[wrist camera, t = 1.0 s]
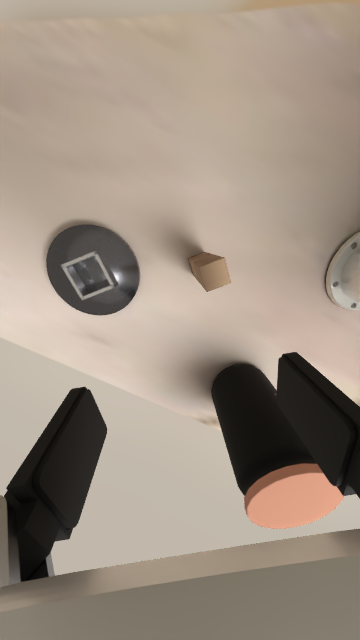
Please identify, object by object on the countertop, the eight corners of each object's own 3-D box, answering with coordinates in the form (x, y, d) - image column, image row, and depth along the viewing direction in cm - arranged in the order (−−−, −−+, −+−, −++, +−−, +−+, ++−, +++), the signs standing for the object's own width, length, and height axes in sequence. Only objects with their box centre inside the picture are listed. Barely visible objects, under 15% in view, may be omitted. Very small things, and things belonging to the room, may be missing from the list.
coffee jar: (259, 403, 39) (328, 524, 22) (208, 406, 38) (240, 533, 22) (269, 360, 35) (362, 468, 18) (211, 362, 34) (254, 477, 17)
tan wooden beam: (204, 252, 27) (224, 257, 18) (209, 269, 28) (231, 282, 18) (187, 258, 27) (199, 267, 18) (193, 275, 28) (207, 292, 19)
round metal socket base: (115, 210, 24) (108, 206, 21) (153, 296, 29) (151, 302, 26) (32, 245, 25) (14, 246, 22) (82, 323, 30) (72, 332, 27)
